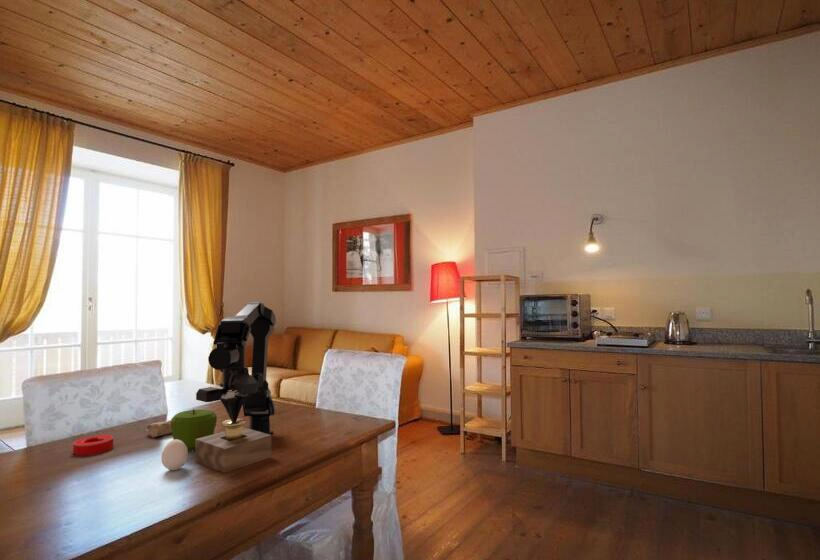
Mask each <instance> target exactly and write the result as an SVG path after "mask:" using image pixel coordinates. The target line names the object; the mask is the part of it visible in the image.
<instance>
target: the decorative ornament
mask: <svg viewBox="0 0 820 560" xmlns="http://www.w3.org/2000/svg"><path fill="white" fill-rule="evenodd" d="M113 448H114V437H113V435H111V434H110V435H109V434H99V435H92V436H87V437H82V438H80V439H77V440H75V441H74V442H73V445H72V454H73V453H74V454H75V455H76V456H91V455H95V454H100V453H104V452H107V451H110V450H111V449H113ZM74 454H73V455H74ZM75 455H74V456H75Z"/></svg>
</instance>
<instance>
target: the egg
mask: <svg viewBox="0 0 820 560" xmlns="http://www.w3.org/2000/svg"><path fill="white" fill-rule="evenodd" d="M163 447H164V448H163V449H162V452H161V458H160V459H161V464H162V465H163V466H164V468H165V469H167V470H169V471H176V470H179V469H180V468H182V467H183V466H184V465H185V464H186V462H187V460H188V455H189V453H188V452H189V451H187V447H186V445H185V444H184V443H183V442H182V441H181V440H178V439H175V440H173V439H172V440H170V441H168V442H167V443H166V445H165V446H163Z"/></svg>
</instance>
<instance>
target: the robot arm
mask: <svg viewBox="0 0 820 560" xmlns="http://www.w3.org/2000/svg"><path fill="white" fill-rule="evenodd" d="M276 320H277V317H276V315H275V312H274V311H273V310H272V309H271V308H269V307H267V306H265V305H264V302H260V301H259V302H258V301H257V302H253V301H251V302H248V303H246V304H245V306H244V307H243V308H242V309H241V310H240V311H238V313H237V314H235V315H234V316H227V317H225V318H223V319H221V321H220V322H219V324H218V327H217V330H216V333H215V337H214V340H213V345H214V346H215V345H216V346H215V348H213V350H211V351H210V352H209V355H208V358H207V361H208V364H209V366H210V367H211V368H213V369H214V370H218V371H219V372H220V373H222V382H221V383H220V384H219V387H220V388H218V387H214V386H209V387H203V388H199V389H198V390H197V391H196V392H195V400H196V401H200V402H202V403H203V402H204V403H211V402H218V401H220V402H221V404H222V405H223V406H224V408H225V410H226V412H227V415H228V418H229V419H231V421H232V422H235V421H237V419H239V414H240V412H241V410H242V409H243V410H242V411H243V417H249V428H248V429H251V430H255V431H259V432H262V433H266V434H270V435H271V434H274V430H271V426H270V425H271V423H270V422H271V419H270V417H271V416H274V415H275V413H276V412H275V411H276V408H275V407H276V406H275V404H274V400H273V398H272V396H271V390H270V388H269V382H268V381H267V370H268V369H267V368H268V367H267V366H268V352H269V349H268V346H269V338H270V337H271V335H272V334H273V333H274V331H275V330H274V327H275V325H276V322H277V321H276ZM250 334H251V336H252V339H253V341H252V356H251V357H252V358H251V359H252V361H251V374H249V371H250V370H249V367H247V366H246V346H247V342H248V339H249V337H250Z"/></svg>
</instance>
